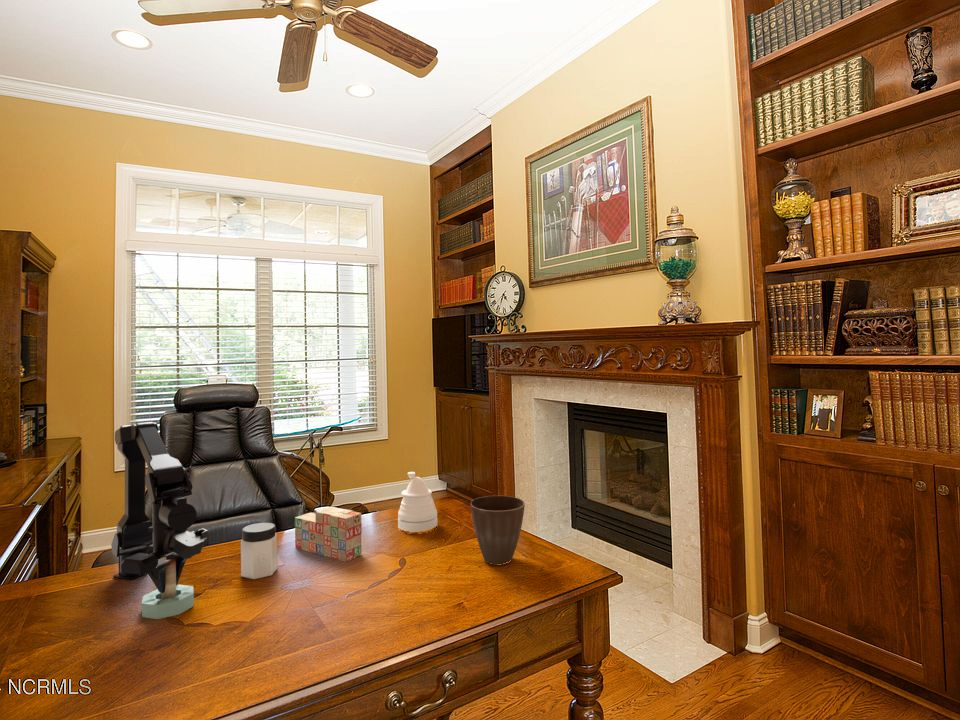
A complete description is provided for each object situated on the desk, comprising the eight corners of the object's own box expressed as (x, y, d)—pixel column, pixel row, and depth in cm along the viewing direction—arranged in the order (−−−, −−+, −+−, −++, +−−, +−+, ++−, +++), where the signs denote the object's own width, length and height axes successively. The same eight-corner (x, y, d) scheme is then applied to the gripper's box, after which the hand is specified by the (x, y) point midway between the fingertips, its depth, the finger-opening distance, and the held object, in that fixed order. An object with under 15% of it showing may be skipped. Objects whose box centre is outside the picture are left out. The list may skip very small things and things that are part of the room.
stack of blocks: (294, 548, 159) (293, 507, 159) (311, 542, 164) (310, 502, 164) (346, 562, 147) (345, 517, 147) (362, 555, 153) (361, 512, 153)
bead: (131, 615, 118) (131, 601, 118) (169, 595, 128) (169, 583, 128) (168, 620, 115) (167, 607, 115) (203, 600, 125) (203, 587, 125)
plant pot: (536, 562, 145) (536, 504, 145) (492, 576, 136) (491, 513, 136) (503, 547, 157) (503, 492, 157) (460, 558, 149) (460, 501, 149)
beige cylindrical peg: (157, 601, 120) (157, 563, 120) (169, 595, 123) (168, 558, 123) (168, 602, 120) (167, 565, 120) (179, 596, 122) (178, 560, 122)
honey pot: (392, 532, 171) (392, 476, 171) (405, 520, 184) (404, 468, 184) (431, 534, 169) (430, 477, 169) (441, 521, 182) (440, 469, 182)
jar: (244, 582, 135) (243, 534, 135) (238, 571, 142) (237, 526, 142) (281, 573, 140) (280, 528, 140) (273, 564, 147) (273, 520, 146)
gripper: (160, 537, 110) (162, 612, 110) (226, 511, 128) (227, 576, 128) (118, 533, 113) (119, 606, 113) (188, 508, 131) (189, 571, 131)
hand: (168, 589), depth 121 cm, fingers closed on beige cylindrical peg, 3 cm apart
